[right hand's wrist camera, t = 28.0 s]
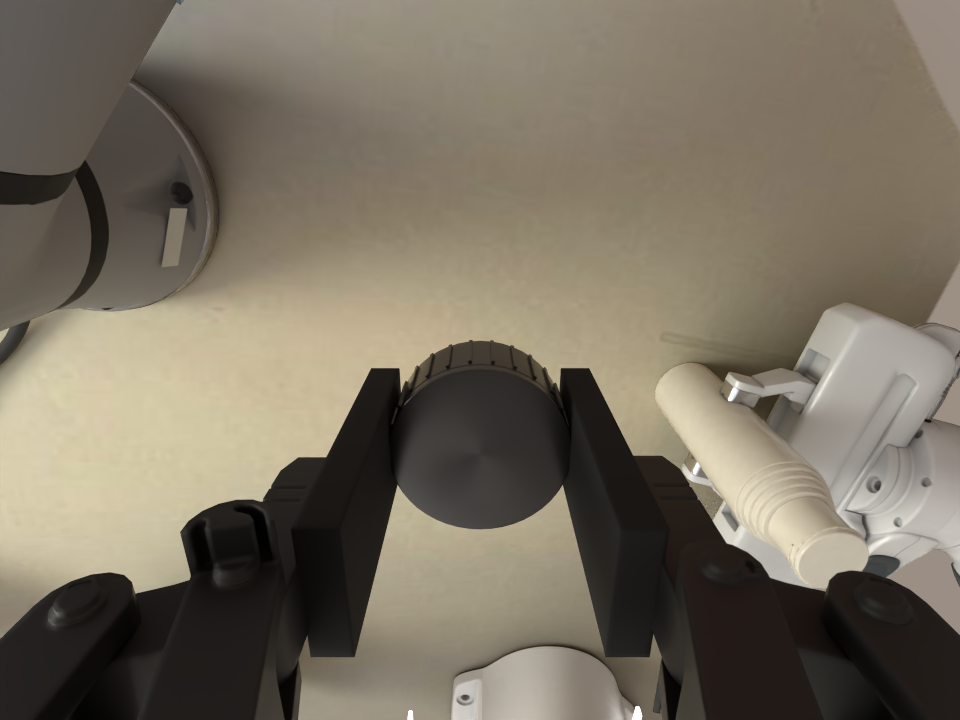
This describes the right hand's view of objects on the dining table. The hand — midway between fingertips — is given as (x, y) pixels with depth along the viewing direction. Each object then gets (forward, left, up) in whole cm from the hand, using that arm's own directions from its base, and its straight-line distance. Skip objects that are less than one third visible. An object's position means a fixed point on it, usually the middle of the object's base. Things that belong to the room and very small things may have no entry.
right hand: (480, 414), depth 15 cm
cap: (0, 0, +2) cm, 2 cm away
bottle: (+3, -19, -24) cm, 31 cm away
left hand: (+3, -18, -18) cm, 26 cm away
